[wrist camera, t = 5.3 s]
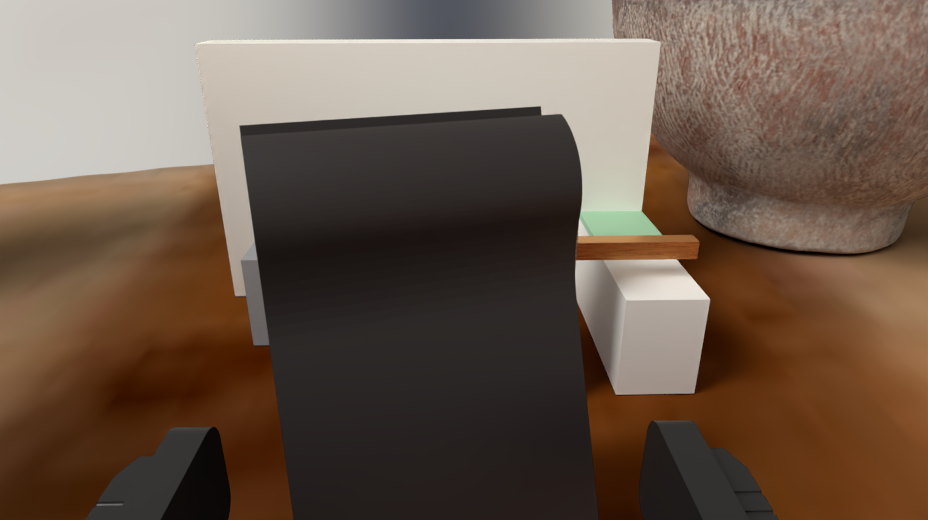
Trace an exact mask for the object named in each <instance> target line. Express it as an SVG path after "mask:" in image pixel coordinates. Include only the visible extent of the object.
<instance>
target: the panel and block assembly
mask: <svg viewBox="0 0 928 520" xmlns="http://www.w3.org/2000/svg"><path fill="white" fill-rule="evenodd" d="M660 46H661V42H658V41H655V40H651V39H431V40H430V39H422V40H421V39H420V40H419V39H418V40H417V39H416V40H415V39H414V40H413V39H408V40H407V39H406V40H405V39H404V40H209V41H205V42H201V43H196V44H195V49H196V55H197V62H198V68H199V74H200V80H201V86H202V93H203V99H204V105H205V111H206V118H207V124H208V130H209V136H210V142H211V149H212V155H213V161H214V167H215V174H216V180H217V186H218V192H219V198H220V205H221V211H222V217H223V223H224V230H225V236H226V242H227V248H228V254H229V261H230V267H231V273H232V279H233V285H234V292H235V296H246V299H247V305H248V312H249V318H250V325H251V331H252V338H253V344H254V345H269V338H268V331H267V324H266V317H265V310H264V302H263V295H262V288H261V281H260V274H259V267H258V260H257V253H256V246H255V239H254V232H253V225H252V218H251V211H250V204H249V196H248V189H247V182H246V175H245V167H244V160H243V152H242V145H241V137H240V136H241V134H240V127H239V125H255V124H270V123H286V122H302V121H317V120H333V119H349V118H364V117H380V116H396V115H411V114H427V113H442V112H458V111H474V110H489V109H505V108H521V107H536V106H541V114H542V115H552V114H562V115H563V117H564V118H565V119H566V121H567V123H568V125H569V127H570V129H571V131H572V133H573V136H574V139H575V142H576V145H577V149H578V153H579V158H580V164H581V172H582V205H581V213H580V218H579V230H578V236H637V235H662V234H661V233H660V232H659V231H658V229H657V228H656V227H655V226H654V225H653V224H652V223H651V221H650V220H649V219H648V218H647V217H646V216H645V214H644V213H643V212H642V202H643V194H644V185H645V176H646V168H647V159H648V150H649V142H650V133H651V124H652V116H653V107H654V98H655V90H656V81H657V72H658V63H659V55H660ZM575 284H576V298H577V302H578V304H579V307H580V309H581V312H582V314H583V317H584V319H585V321H586V324H587V326H588V329H589V331H590V333H591V336H592V338H593V341H594V343H595V346H596V348H597V350H598V353H599V355H600V358H601V360H602V362H603V365H604V367H605V370H606V372H607V375H608V377H609V379H610V382H611V384H612V387H613V389H614V391H615V394H616V395H628V394H691V393H694V392H695V386H696V380H697V375H698V369H699V363H700V357H701V351H702V345H703V339H704V333H705V328H706V322H707V316H708V310H709V304H710V298H709V297H708V296H707V295H706V294H705V293H704V291H703V290H702V289H701V288H700V287H699V285H698V284H697V283H696V282H695V281H694V279H693V278H692V277H691V276H690V275H689V274H688V272H687V271H686V270H685V269H684V268H683V266H682V265H681V264H680V263H679V262H678V260H677V259H664V260H576V270H575Z"/></svg>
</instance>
